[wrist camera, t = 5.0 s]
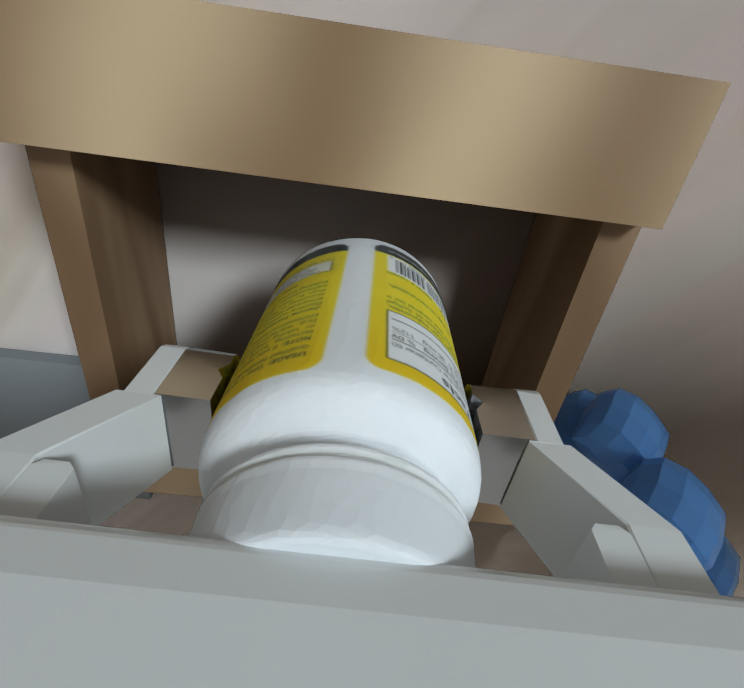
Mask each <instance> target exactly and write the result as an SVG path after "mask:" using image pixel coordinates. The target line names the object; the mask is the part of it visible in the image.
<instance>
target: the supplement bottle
mask: <svg viewBox="0 0 744 688" xmlns="http://www.w3.org/2000/svg"><path fill="white" fill-rule="evenodd" d="M198 471H199V484H200V489H201V493H202V497H203V499H204V500H203V502H202V505H201V507H200V509H199V511H198V513H197V515H196V517H195V520H194V523H193V526H192V529H191V531H190V534H189V536H196V537H205V538H214V539H223V540H227V541H232V542H235V543H238V544H241V545H244V546H250V547H256V548H262V549H272V550H281V551H290V552H300V553H309V554H318V555H327V556H337V557H346V558H355V559H365V560H374V561H383V562H392V563H401V564H412V565H436V564H447V565H456V566H465V567H474V568H476V565H475V553H474V542H473V538H472V534H471V531H470V529H469V522H470V520H471V518H472V516H473V514H474V511H475V509H476V506H477V503H478V499H479V495H480V488H481V465H480V456H479V451H478V446H477V441H476V437H475V433H474V428H473V425H472V421H471V417H470V412H469V408H468V404H467V400H466V395H465V391H464V387H463V383H462V379H461V374H460V370H459V366H458V361H457V357H456V353H455V349H454V345H453V341H452V337H451V333H450V329H449V325H448V321H447V317H446V313H445V307H444V303H443V300H442V297H441V294H440V291H439V289H438V287H437V285H436V283H435V281H434V279H433V278H432V276H431V275H430V273H429V272H428V271H427V269H426V268H425V267H424V266H423V265H422V264H421V263H420V262H419V261H418V260H417V259H415V258H414V257H413V256H412V255H410V254H409V253H407V252H406V251H404V250H402V249H400V248H398V247H396V246H394V245H391V244H389V243H386V242H383V241H379V240H374V239H366V238H349V239H340V240H335V241H331V242H327V243H324V244H321V245H319V246H316V247H314V248H312V249H310V250H309V251H307V252H305V253H304V254H303V255H301V256H300V257H299V258H298V259H296V260H295V261H294V262H293V263H292V264H291V265H290V267H289V268H288V269H287V270H286V271H285V273H284V274H283V276H282V278H281V279H280V281H279V283H278V284H277V286H276V288H275V291H274V293H273V295H272V297H271V299H270V300H269V303H268V305H267V307H266V309H265V311H264V313H263V315H262V317H261V319H260V321H259V323H258V325H257V327H256V329H255V331H254V333H253V335H252V337H251V339H250V341H249V343H248V345H247V347H246V350H245V352H244V354H243V356H242V358H241V360H240V362H239V364H238V366H237V368H236V370H235V372H234V374H233V376H232V378H231V380H230V382H229V384H228V386H227V388H226V390H225V392H224V394H223V397H222V399H221V401H220V403H219V405H218V407H217V408H216V410H215V413H214V415H213V417H212V419H211V421H210V423H209V425H208V427H207V430H206V433H205V435H204V438H203V442H202V446H201V450H200V456H199V464H198Z"/></svg>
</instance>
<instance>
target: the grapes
mask: <svg viewBox="0 0 744 688" xmlns="http://www.w3.org/2000/svg"><path fill="white" fill-rule="evenodd" d="M554 425H555V427H556V429H557V431H558V433H559V436H560V438H561V440H562V442H563V444H564V445H570V446H572V447H573V448H575V449H576V450H577V451H578V452H580V453H581V454H582V455H584V456H585V457H586V458H587V459H589V460H590V461H591V462H592V463H594V464H595V465H596V466H598V467H599V468H600V469H601V470H603V471H604V472H605V473H607V474H608V475H609V476H610V477H612V478H613V479H614V480H615V481H617V482H618V483H619V484H621V485H622V486H623V487H624V488H626V489H627V490H628V491H630V492H631V493H632V494H633V495H635V496H636V497H637V498H638V499H640V500H641V501H642V502H644V503H645V504H646V505H647V506H649V507H650V508H651V509H653V510H654V511H655V512H656V513H658V514H659V515H660V516H661V517H663V518H664V519H665V520H667V521H668V522H669V523H670V524H672V525H673V526H674V527H676V528H677V529H678V530H679V531H681V533H682V534H683V536H684V537H685V539H686V541H687V542H688V544H689V546H690V547H691V549H692V550H693V552H694V554H695V555H696V557H697V558H698V560H699V562H700V563H701V565H702V567H703V568H704V570H705V571H706V573H707V575H708V576H709V578H710V580H711V581H712V583H713V584H714V586H715V588H716V589H717V591H718V593H719V594H720V595H725V596H733V593H734V591H735V589H736V587H737V584H738V580H739V570H740V556H739V555H738V553H737V552H736V551H735V549H734V548H733V546H732V545H731V543H730V542H729V541H728V539H727V538H726V537H725V536H724V533H725V525H726V514H725V512H724V511H723V509H722V508H721V506H720V505H719V503H718V502H717V500H716V499H715V497H714V496H713V495H712V493H711V492H710V490H709V489H708V488H707V487H706V486H705V485H704V484H703V483H702V482H701V481H700V480H699V479H698V478H697V477H696V476H695V475H694V474H693V473H692V472H691V471H690V470H689V469H687V468H685V467H683V466H681V465H679V464H677V463H675V462H673V461H671V460H669V459H667V458H663V456H664V453H665V451H666V448H667V444H668V440H669V436H670V434H669V433H668V431H667V430H666V428H665V427H664V425H663V424H662V422H661V421H660V419H659V418H658V416H657V415H656V414H655V412H654V411H653V410H652V409H651V408H650V407H649V406H648V405H647V404H646V403H645V402H644V401H643V400H642V399H641V398H639V397H638V396H637V395H634V394H632V393H630V392H627V391H625V390H622V389H620V388H618V389H613V390H608V391H603V392H602V393H600V394H599V395H597V394H595V393H593V392H590V391H588V390H586V389H585V390H580V391H576V392H572V393H570V394H569V395H567V396H566V397H565V399H564V401H563V403H562V406H561V408H560V410H559V412H558V415H557V417H556V419H555V421H554Z"/></svg>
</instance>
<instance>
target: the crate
mask: <svg viewBox="0 0 744 688" xmlns="http://www.w3.org/2000/svg"><path fill="white" fill-rule="evenodd" d="M730 84H731V83H728V82H721V81H715V80H708V79H702V78H695V77H689V76H682V75H676V74H669V73H663V72H656V71H650V70H643V69H637V68H630V67H624V66H618V65H611V64H605V63H598V62H592V61H585V60H579V59H572V58H566V57H559V56H553V55H546V54H540V53H533V52H527V51H520V50H514V49H507V48H501V47H494V46H488V45H481V44H475V43H468V42H462V41H456V40H449V39H443V38H436V37H430V36H423V35H417V34H410V33H404V32H397V31H391V30H384V29H378V28H371V27H365V26H358V25H352V24H345V23H339V22H332V21H326V20H319V19H313V18H307V17H300V16H294V15H287V14H281V13H274V12H268V11H261V10H255V9H248V8H242V7H235V6H229V5H222V4H216V3H209V2H203V1H196V0H0V142H7V143H15V144H22V145H25V148H26V151H27V155H28V159H29V163H30V167H31V171H32V175H33V179H34V183H35V186H36V190H37V194H38V198H39V202H40V206H41V210H42V214H43V218H44V221H45V225H46V229H47V233H48V237H49V241H50V245H51V249H52V253H53V256H54V260H55V264H56V268H57V272H58V276H59V280H60V284H61V288H62V291H63V295H64V299H65V303H66V307H67V311H68V315H69V319H70V323H71V326H72V330H73V334H74V338H75V342H76V346H77V350H78V354H79V358H80V362H81V365H82V369H83V373H84V377H85V381H86V385H87V389H88V393H89V397H90V400H93V399H95V398H98V397H100V396H102V395H105V394H107V393H109V392H112V391H114V390H125V389H126V387H127V386H128V385H129V384H130V383H131V381H132V380H133V379H134V378H135V376H136V375H137V374H138V373H139V372H140V370H141V369H142V368H143V367H144V365H145V364H146V363H147V362H148V361H149V359H150V358H151V357H152V356H153V355H154V353H155V352H156V351H157V350H158V348H159V347H160V346H162V345H165V344H169V345H177V341H176V333H175V324H174V316H173V307H172V299H171V291H170V282H169V274H168V265H167V257H166V248H165V240H164V232H163V223H162V215H161V206H160V198H159V189H158V181H157V173H156V164H155V162H158V163H166V164H173V165H181V166H188V167H196V168H203V169H211V170H218V171H226V172H233V173H241V174H248V175H256V176H263V177H271V178H279V179H286V180H294V181H301V182H309V183H316V184H324V185H331V186H339V187H346V188H354V189H361V190H369V191H376V192H384V193H392V194H399V195H407V196H414V197H422V198H429V199H437V200H444V201H452V202H459V203H467V204H474V205H482V206H489V207H497V208H505V209H512V210H520V211H527V212H535V213H536V215H535V218H534V221H533V224H532V228H531V231H530V234H529V237H528V240H527V243H526V247H525V250H524V253H523V256H522V259H521V262H520V265H519V269H518V272H517V275H516V278H515V281H514V284H513V287H512V291H511V294H510V297H509V300H508V303H507V306H506V310H505V313H504V316H503V319H502V322H501V325H500V328H499V332H498V335H497V338H496V341H495V344H494V347H493V351H492V354H491V357H490V360H489V363H488V366H487V369H486V373H485V376H484V379H483V382H482V385H481V386H487V387H496V388H505V389H519V390H530V391H537V392H538V393H539V394H540V395H541V397H542V399H543V401H544V403H545V405H546V408H547V410H548V412H549V414H550V416H551V418H552V421H553V423H554V421H555V419H556V417H557V415H558V412H559V410H560V408H561V406H562V403H563V401H564V399H565V397H566V394H567V392H568V390H569V388H570V385H571V383H572V381H573V379H574V377H575V374H576V372H577V370H578V368H579V365H580V363H581V361H582V359H583V356H584V354H585V352H586V350H587V347H588V345H589V343H590V341H591V338H592V336H593V334H594V332H595V330H596V327H597V325H598V323H599V321H600V318H601V316H602V314H603V312H604V309H605V307H606V305H607V303H608V300H609V298H610V296H611V294H612V292H613V289H614V287H615V285H616V283H617V280H618V278H619V276H620V274H621V271H622V269H623V267H624V265H625V262H626V260H627V258H628V256H629V253H630V251H631V249H632V247H633V245H634V242H635V240H636V238H637V236H638V233H639V231H640V229H641V227H648V228H655V229H662V228H663V226H664V224H665V222H666V220H667V218H668V216H669V213H670V211H671V209H672V207H673V205H674V203H675V201H676V199H677V196H678V194H679V192H680V190H681V188H682V186H683V184H684V182H685V180H686V177H687V175H688V173H689V171H690V169H691V167H692V165H693V163H694V161H695V158H696V156H697V154H698V152H699V150H700V148H701V146H702V144H703V141H704V139H705V137H706V135H707V133H708V131H709V129H710V127H711V125H712V122H713V120H714V118H715V116H716V114H717V112H718V110H719V108H720V105H721V103H722V101H723V99H724V97H725V95H726V93H727V91H728V89H729V86H730ZM143 492H151V493H162V494H173V495H184V496H195V497H202V493H201V489H200V484H199V471H198V469H189V468H178V467H172V470H171V471H169V472H168V473H167V474H166V475H164V476H163V477H162V478H160V479H159V480H158V481H156V482H155V483H154V484H152V485H151V486H150V487H149V488H147V489H146V490H145V491H143ZM500 506H501V505H494V504H487V503H480V502H478V503H477V506H476V509H475V511H474V514H473V516H472V518H471V520H470V521H473V522H484V523H495V524H506V525H513V523H512V522H511V521H510V519H509V518H508V517H507V516H506V514H505V513H504V512H503V510H502V509H501V508H500Z"/></svg>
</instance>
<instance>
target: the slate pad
mask: <svg viewBox="0 0 744 688" xmlns="http://www.w3.org/2000/svg"><path fill="white" fill-rule="evenodd" d="M88 401H91V400H90V397H89V393H88V389H87V385H86V381H85V377H84V373H83V369H82V365H81V362H80V358H79V356H70V355H60V354H51V353H42V352H32V351H23V350H13V349H4V348H0V439H1V438H3V437H6V436H8V435H11V434H13V433H15V432H18V431H20V430H22V429H25V428H27V427H29V426H32V425H34V424H36V423H39V422H41V421H43V420H46V419H48V418H51V417H53V416H55V415H58V414H60V413H62V412H65V411H67V410H69V409H72V408H74V407H76V406H79V405H81V404H83V403H86V402H88ZM152 495H153V493H151V492H142V493H141V494H139V495H138V496H137V497H135V498H145V499H151V497H152Z"/></svg>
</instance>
